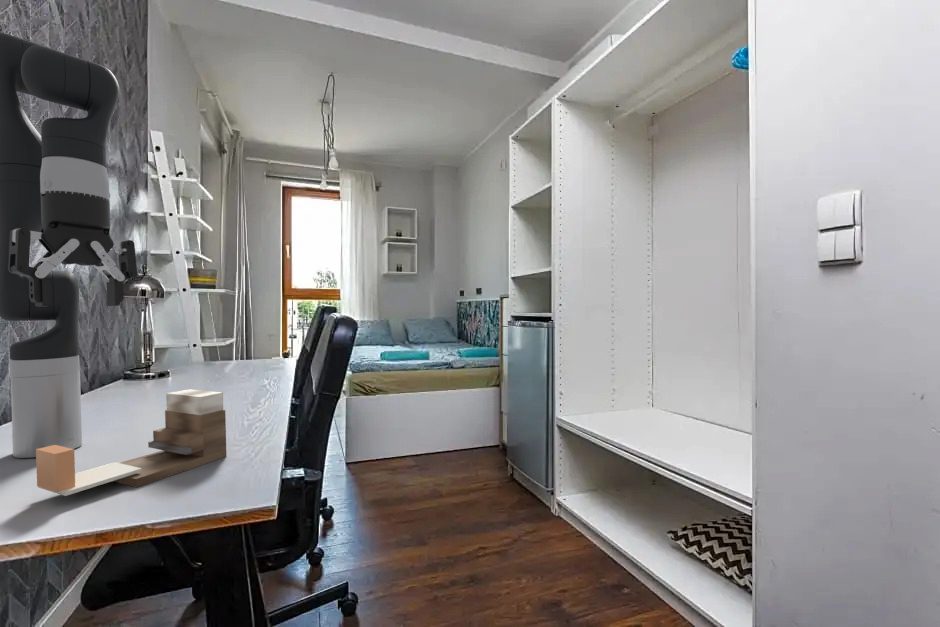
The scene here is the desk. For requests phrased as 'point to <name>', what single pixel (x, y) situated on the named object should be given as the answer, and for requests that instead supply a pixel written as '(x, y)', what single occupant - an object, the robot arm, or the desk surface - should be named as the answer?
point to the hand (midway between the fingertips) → (79, 306)
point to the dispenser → (183, 437)
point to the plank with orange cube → (73, 471)
